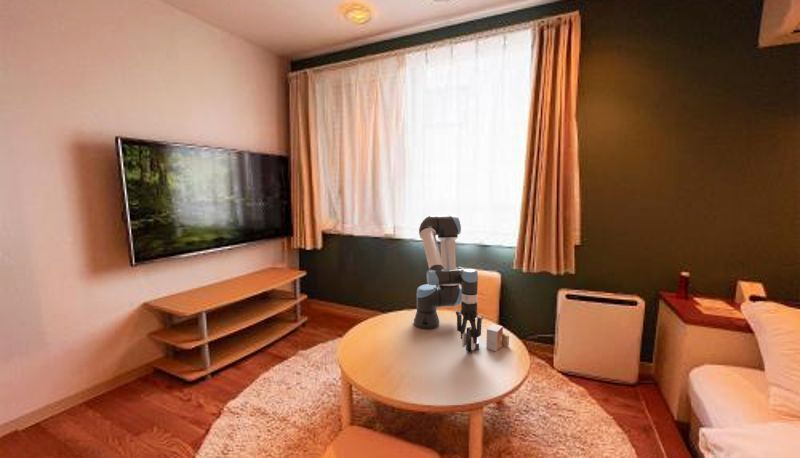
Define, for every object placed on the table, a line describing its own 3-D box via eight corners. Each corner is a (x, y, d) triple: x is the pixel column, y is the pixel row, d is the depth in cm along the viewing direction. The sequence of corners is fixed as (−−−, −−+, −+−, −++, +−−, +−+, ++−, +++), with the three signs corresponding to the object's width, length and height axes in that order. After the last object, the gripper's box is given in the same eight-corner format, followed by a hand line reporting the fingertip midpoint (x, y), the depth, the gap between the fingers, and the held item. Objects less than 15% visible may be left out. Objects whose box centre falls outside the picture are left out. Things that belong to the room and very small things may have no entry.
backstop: (494, 341, 174) (494, 330, 173) (496, 340, 175) (496, 329, 174) (506, 347, 167) (507, 336, 167) (508, 346, 168) (509, 335, 167)
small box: (496, 351, 163) (497, 332, 162) (486, 348, 167) (486, 329, 165) (502, 345, 170) (503, 326, 168) (492, 342, 173) (492, 323, 171)
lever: (464, 337, 177) (465, 315, 175) (478, 338, 176) (478, 316, 174) (464, 354, 160) (465, 330, 158) (479, 355, 159) (479, 331, 157)
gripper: (449, 299, 160) (449, 344, 163) (482, 307, 149) (481, 356, 152) (457, 295, 166) (457, 339, 169) (489, 303, 155) (488, 349, 158)
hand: (468, 347), depth 161 cm, fingers open, 4 cm apart
